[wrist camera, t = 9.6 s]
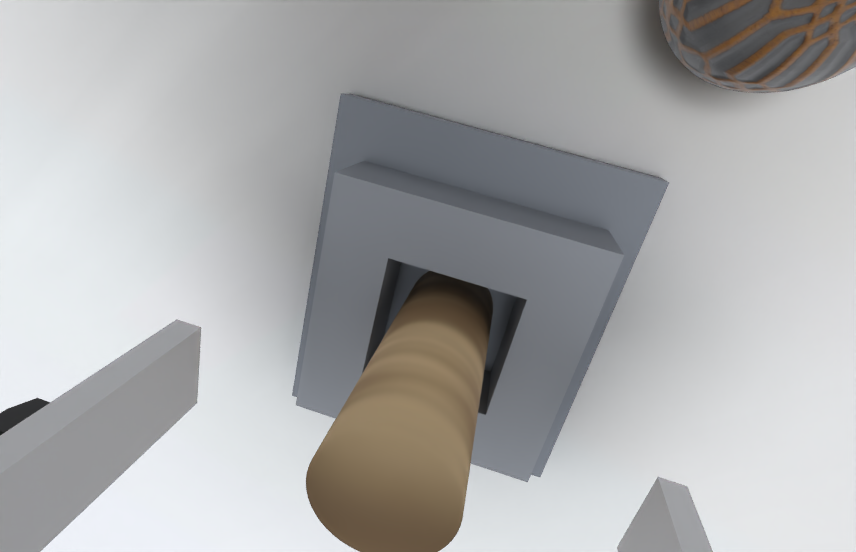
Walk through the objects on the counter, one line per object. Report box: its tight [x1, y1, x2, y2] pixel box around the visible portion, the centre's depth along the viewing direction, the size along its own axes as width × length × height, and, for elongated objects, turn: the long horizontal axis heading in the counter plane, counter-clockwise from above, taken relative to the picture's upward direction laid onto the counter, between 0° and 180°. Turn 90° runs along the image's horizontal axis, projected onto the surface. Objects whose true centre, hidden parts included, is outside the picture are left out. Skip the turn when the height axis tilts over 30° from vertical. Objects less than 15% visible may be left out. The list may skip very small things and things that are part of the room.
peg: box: [306, 271, 493, 552], centre depth 17 cm, size 4×4×12 cm
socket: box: [292, 94, 669, 482], centre depth 22 cm, size 16×14×5 cm
